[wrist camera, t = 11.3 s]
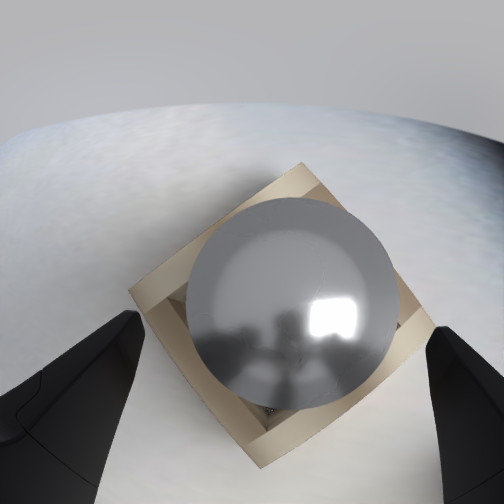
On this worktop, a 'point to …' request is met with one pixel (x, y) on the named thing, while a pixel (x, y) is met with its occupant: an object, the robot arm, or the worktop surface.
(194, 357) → the collar
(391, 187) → the worktop surface
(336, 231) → the silver metal canister
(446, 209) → the worktop surface
